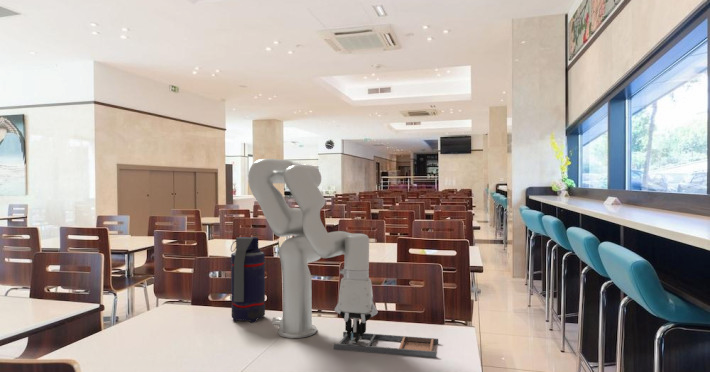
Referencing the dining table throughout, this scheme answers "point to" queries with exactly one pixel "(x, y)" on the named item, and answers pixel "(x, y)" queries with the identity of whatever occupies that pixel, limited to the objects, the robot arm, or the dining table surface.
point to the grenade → (247, 280)
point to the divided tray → (412, 348)
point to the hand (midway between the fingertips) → (355, 333)
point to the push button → (355, 327)
